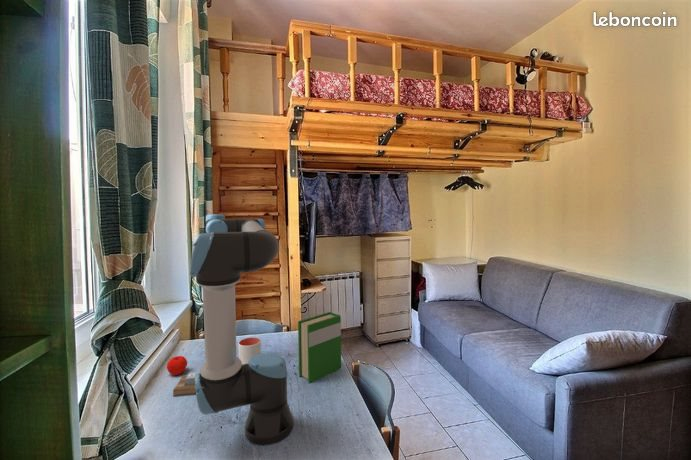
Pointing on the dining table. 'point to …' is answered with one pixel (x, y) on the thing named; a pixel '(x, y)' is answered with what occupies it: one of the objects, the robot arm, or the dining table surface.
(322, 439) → the dining table surface
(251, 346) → the cup
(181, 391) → the key board
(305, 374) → the hardback book
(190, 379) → the key three dots
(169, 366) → the apple
